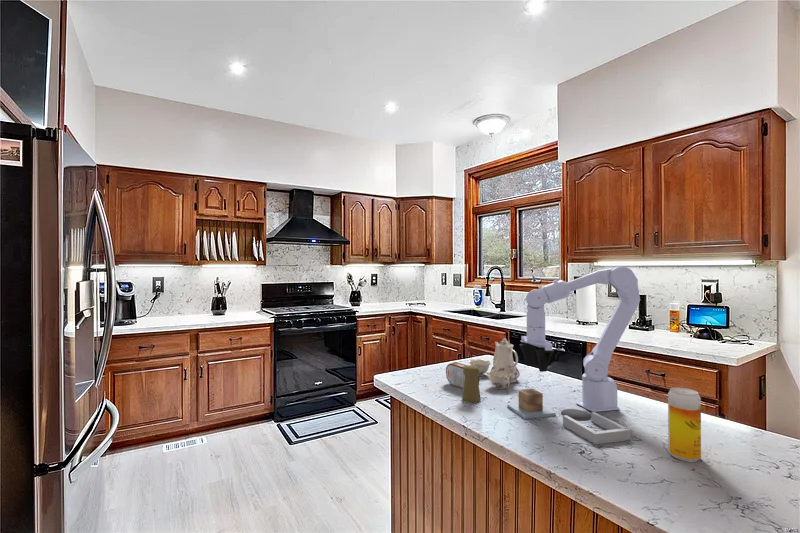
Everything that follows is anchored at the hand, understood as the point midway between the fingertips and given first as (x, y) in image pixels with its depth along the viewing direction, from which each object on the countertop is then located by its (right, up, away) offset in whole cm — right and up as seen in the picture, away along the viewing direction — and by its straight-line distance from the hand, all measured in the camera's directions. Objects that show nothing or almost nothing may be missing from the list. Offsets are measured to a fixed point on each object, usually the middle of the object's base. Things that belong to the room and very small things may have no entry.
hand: (536, 368), depth 129 cm
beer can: (+21, -11, -38) cm, 45 cm away
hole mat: (+7, -10, -13) cm, 18 cm away
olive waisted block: (-21, -11, +1) cm, 23 cm away
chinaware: (-7, -11, +23) cm, 26 cm away
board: (-5, -10, -9) cm, 15 cm away
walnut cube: (-5, -10, -9) cm, 14 cm away
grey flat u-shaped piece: (+7, -10, -24) cm, 27 cm away
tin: (-22, -11, +14) cm, 28 cm away
